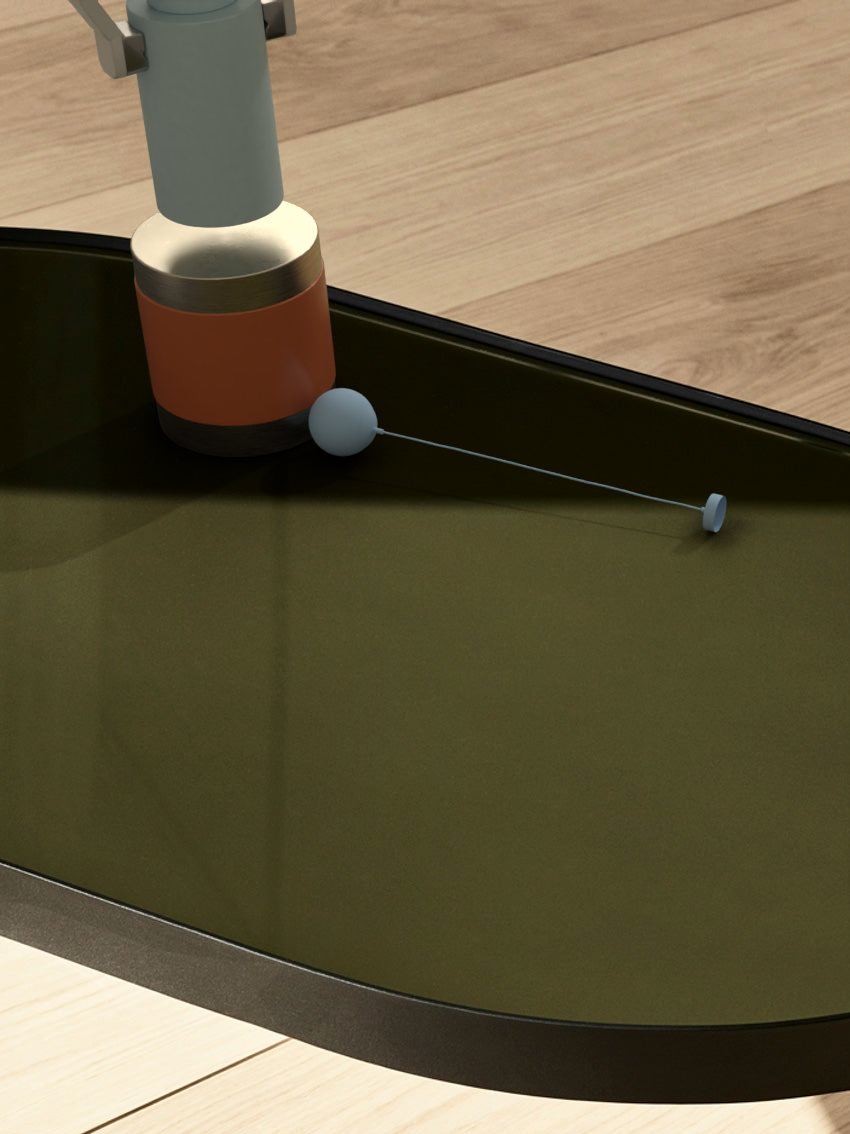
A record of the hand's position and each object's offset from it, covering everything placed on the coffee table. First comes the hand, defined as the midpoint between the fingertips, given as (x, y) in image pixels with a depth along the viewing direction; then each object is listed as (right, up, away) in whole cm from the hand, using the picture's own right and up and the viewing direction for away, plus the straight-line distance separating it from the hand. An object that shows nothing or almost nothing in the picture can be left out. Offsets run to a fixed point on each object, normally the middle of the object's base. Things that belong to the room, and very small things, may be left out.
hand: (199, 53), depth 98 cm
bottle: (0, -5, +4) cm, 7 cm away
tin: (0, -13, +11) cm, 17 cm away
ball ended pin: (+13, -18, +6) cm, 23 cm away
